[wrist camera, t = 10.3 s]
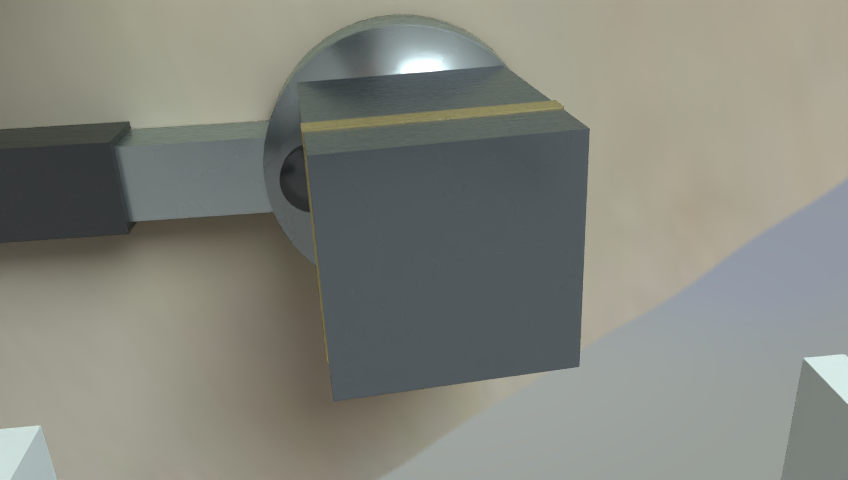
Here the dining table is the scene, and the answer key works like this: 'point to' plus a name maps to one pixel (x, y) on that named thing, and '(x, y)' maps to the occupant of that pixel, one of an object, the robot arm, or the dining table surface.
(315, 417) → the dining table surface
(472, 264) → the gold-striped grey cube
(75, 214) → the ratchet
